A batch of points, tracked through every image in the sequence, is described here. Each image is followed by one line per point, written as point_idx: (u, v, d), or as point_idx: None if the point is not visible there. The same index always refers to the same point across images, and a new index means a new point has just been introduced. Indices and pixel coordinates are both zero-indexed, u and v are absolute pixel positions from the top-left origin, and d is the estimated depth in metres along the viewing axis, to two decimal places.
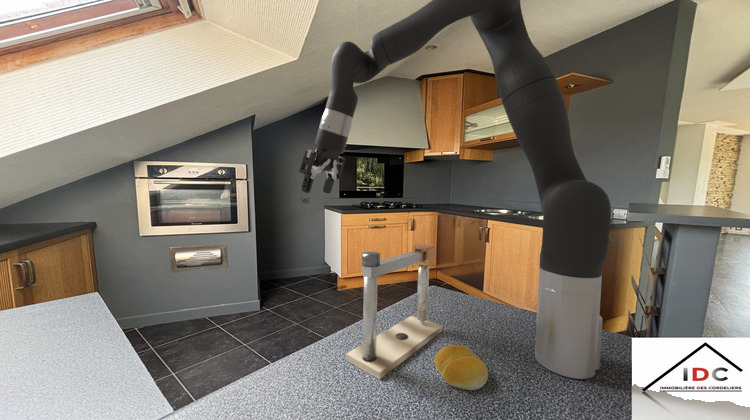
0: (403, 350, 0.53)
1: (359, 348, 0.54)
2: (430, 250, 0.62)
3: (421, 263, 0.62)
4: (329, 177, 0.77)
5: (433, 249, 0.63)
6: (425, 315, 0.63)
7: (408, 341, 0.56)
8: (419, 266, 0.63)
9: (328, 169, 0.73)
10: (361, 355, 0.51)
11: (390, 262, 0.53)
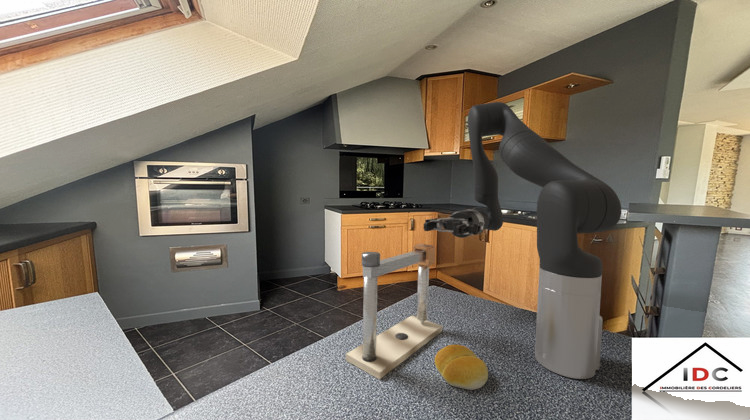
0: (403, 350, 0.53)
1: (359, 348, 0.54)
2: (430, 250, 0.62)
3: (421, 263, 0.62)
4: None
5: (433, 249, 0.63)
6: (425, 315, 0.63)
7: (408, 341, 0.56)
8: (419, 266, 0.63)
9: (455, 222, 0.74)
10: (361, 355, 0.51)
11: (390, 262, 0.53)
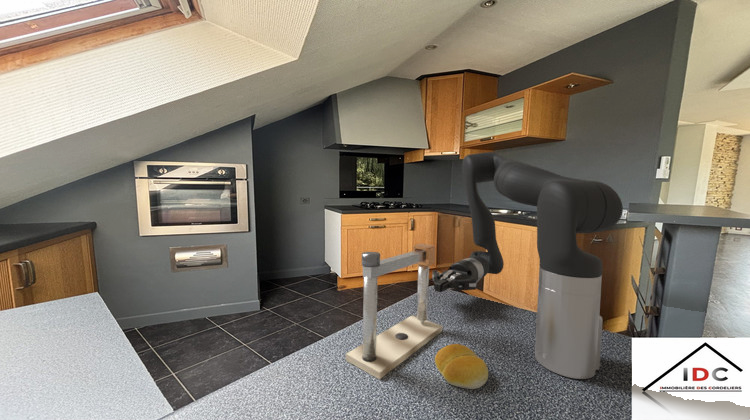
0: (403, 350, 0.53)
1: (359, 348, 0.54)
2: (430, 250, 0.62)
3: (421, 263, 0.62)
4: None
5: (433, 249, 0.63)
6: (425, 315, 0.63)
7: (408, 341, 0.56)
8: (419, 266, 0.63)
9: (451, 275, 0.77)
10: (361, 355, 0.51)
11: (390, 262, 0.53)
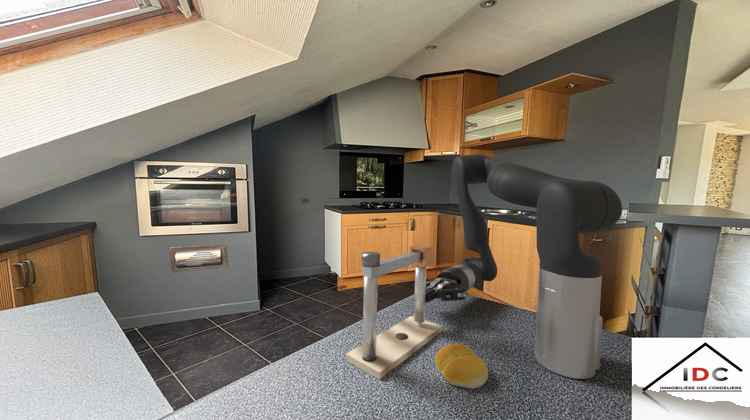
0: (403, 350, 0.53)
1: (359, 348, 0.54)
2: (427, 251, 0.61)
3: (418, 264, 0.61)
4: None
5: (430, 250, 0.62)
6: (422, 317, 0.62)
7: (408, 341, 0.56)
8: (416, 267, 0.62)
9: (438, 283, 0.71)
10: (361, 355, 0.51)
11: (390, 262, 0.53)
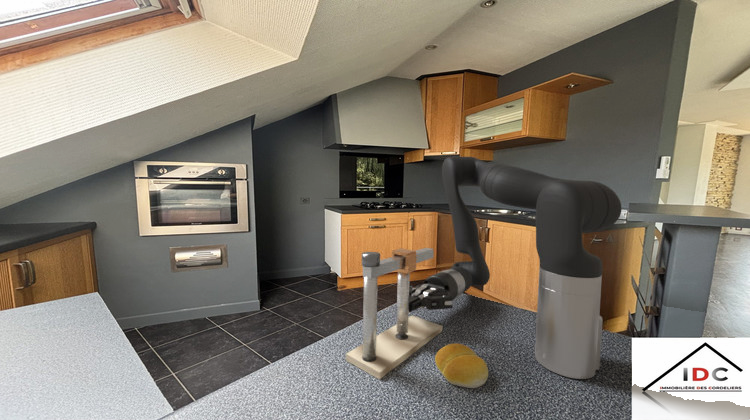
0: (403, 350, 0.53)
1: (359, 348, 0.54)
2: (410, 256, 0.56)
3: (400, 270, 0.56)
4: None
5: (414, 255, 0.57)
6: (405, 327, 0.57)
7: (408, 341, 0.56)
8: (398, 273, 0.57)
9: (425, 290, 0.66)
10: (361, 355, 0.51)
11: (390, 262, 0.53)
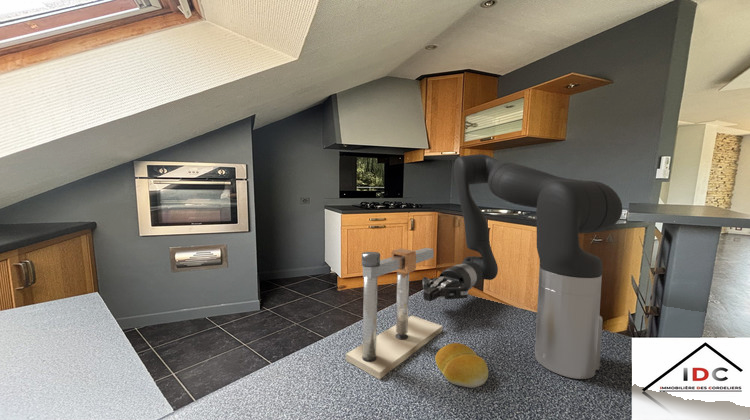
0: (403, 350, 0.53)
1: (359, 348, 0.54)
2: (410, 256, 0.56)
3: (400, 270, 0.56)
4: None
5: (413, 255, 0.57)
6: (405, 328, 0.57)
7: (408, 341, 0.56)
8: (398, 274, 0.57)
9: (441, 282, 0.73)
10: (361, 355, 0.51)
11: (390, 262, 0.53)
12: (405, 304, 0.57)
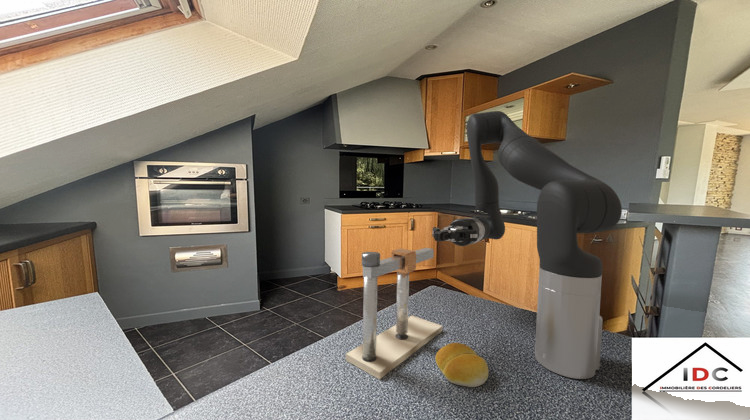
0: (403, 350, 0.53)
1: (359, 348, 0.54)
2: (410, 256, 0.56)
3: (400, 270, 0.56)
4: None
5: (413, 255, 0.57)
6: (405, 328, 0.57)
7: (408, 341, 0.56)
8: (398, 274, 0.57)
9: None
10: (361, 355, 0.51)
11: (390, 262, 0.53)
12: (405, 304, 0.57)
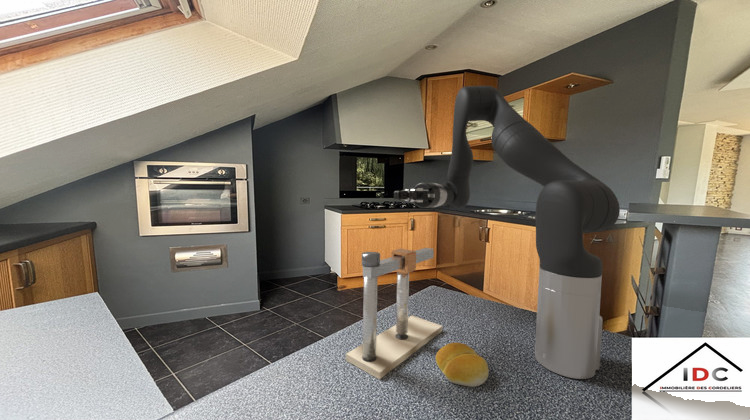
0: (403, 350, 0.53)
1: (359, 348, 0.54)
2: (410, 256, 0.56)
3: (400, 270, 0.56)
4: None
5: (413, 255, 0.57)
6: (405, 328, 0.57)
7: (408, 341, 0.56)
8: (398, 274, 0.57)
9: None
10: (361, 355, 0.51)
11: (390, 262, 0.53)
12: (405, 304, 0.57)
